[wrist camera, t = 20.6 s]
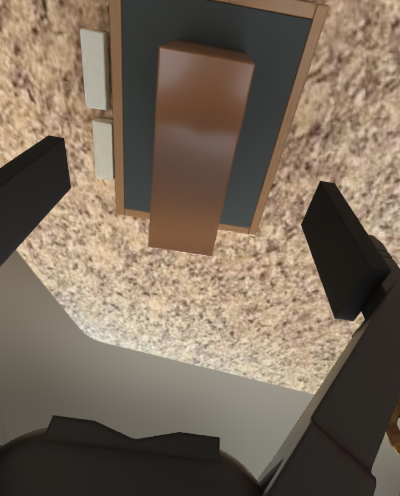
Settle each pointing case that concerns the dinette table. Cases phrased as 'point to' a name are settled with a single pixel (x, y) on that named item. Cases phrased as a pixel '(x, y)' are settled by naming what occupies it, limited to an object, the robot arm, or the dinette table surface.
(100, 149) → the white chalk stick
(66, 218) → the dinette table surface
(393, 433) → the wooden mug
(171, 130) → the eraser
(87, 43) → the white rectangular bar
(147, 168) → the chalkboard
